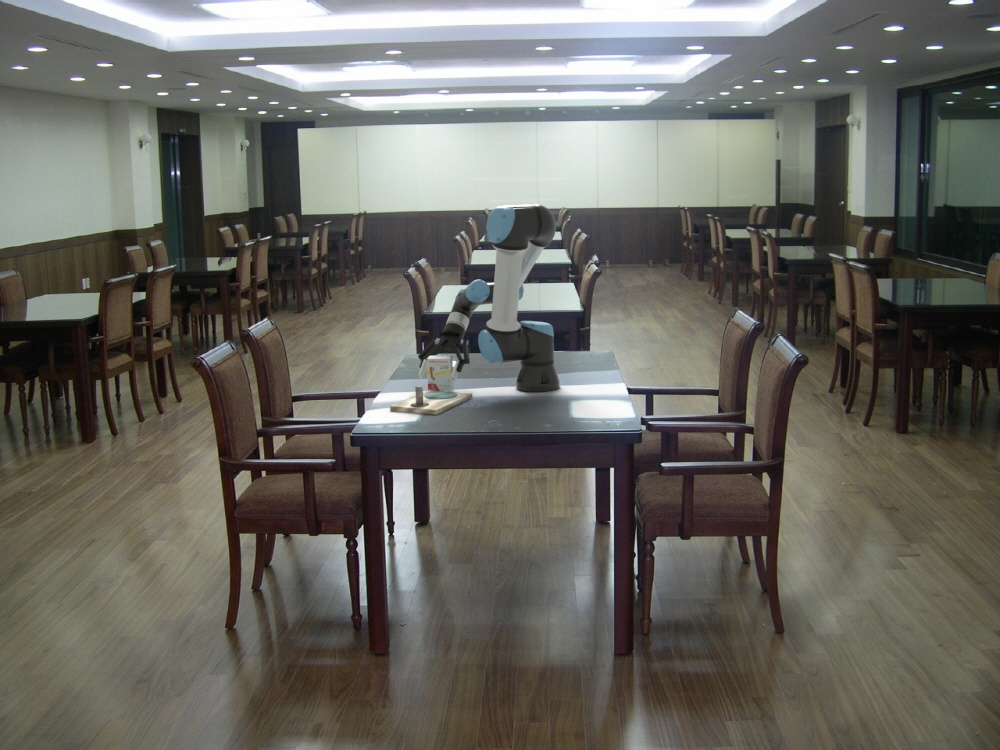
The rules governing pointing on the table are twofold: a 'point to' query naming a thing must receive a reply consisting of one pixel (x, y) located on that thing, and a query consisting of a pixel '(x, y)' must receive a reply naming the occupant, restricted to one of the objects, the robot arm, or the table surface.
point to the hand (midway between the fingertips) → (436, 378)
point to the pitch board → (430, 401)
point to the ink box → (440, 373)
